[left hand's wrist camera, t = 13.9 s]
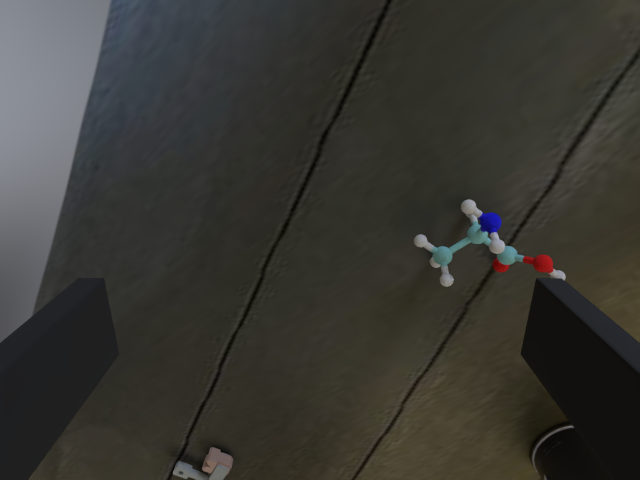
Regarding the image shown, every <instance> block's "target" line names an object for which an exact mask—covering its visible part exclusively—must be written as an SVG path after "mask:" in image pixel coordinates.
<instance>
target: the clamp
mask: <svg viewBox="0 0 640 480" xmlns="http://www.w3.org/2000/svg"><path fill="white" fill-rule="evenodd" d="M220 451H221V450H219V449H217V448H214V447H211V448H210V451H209V454H208V455H206V457H205V460H204V464H203V467H202V469H203V471H205V472H208V474H206V473H203V472H200V471H197V470H195V469H192V467H193V466H192V465H189V464H187V463H184V462H181V461H178V462H177V464H176V466H175V469H174V472H173V474H174V475H176V476H179V477H182V478H185V479H187V478H188V477H190V478H193V479H196V480H224V477H225V476H226V475H228V473H229V471H230V470H231V467H232V463H233V458H232V456H230V455H228V454H226V453H222V452H220Z"/></svg>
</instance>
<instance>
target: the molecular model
mask: <svg viewBox="0 0 640 480" xmlns="http://www.w3.org/2000/svg"><path fill="white" fill-rule="evenodd" d="M461 209H462V211H463V212H464V213H466V216H467V217H469V218H470V220H471V224H472V226H471V227H470V228H469V229H468V231H467V237H466V238H464V239H463V240H461V241H459V242H458V243H456V244H455V245H453V246H451V247H450V248H447V247H444V246H441V247H438V248H436V247H435V246H433V245H432V244H430V243H429V242H427V238H426V237H425V236H424V235H421V234H420V235H417V236H416V237H415V239H414V243H415V245H416V246H418V247H425V248H426V249H427V250H429V251H430V252H432V253H433V257H432V258H431V259H430V264H431V265H432V266H433V267H435V268H438V267H440V266H441V270H442V276H441V277H440V283H441V284H442V285H443V286H446V287H448V286H451V285H452V284H453V280H454V279H453V277H452V276H451V275H450V274H449V271H448V266H447V264H448V263H450V261H451V260H452V253H454V252H456V251H457V250H459V249H460V248H462V247H464V246H465V245H467V244H469V243H470V242H472V243H474V244H480V243H485V244H486V245H487V246H489V249H490V251H491V252H492V253H495V254H497V258H496V259H494V261H493V268H494V269H495V270H496V271H497V272H505V271H507V270H508V268H509V265H510V264H513V263H514V262H515V261H519V262H524V263H528V264H532V265H533V266H534V268H535V269H536V270H537V271H539V272H548V273H549V274H550V278H562V279H563V280H564V281H565V278H566V277H565V274H564V273H563V272H562V271H559V270H555V269H554V268H552V266H553V262H552V259H551V258H550V257H549V256H547V255H538V256H537V257H535V258H532V257H527V256H522V255H518V254H517V251H516V250H515V249H514V248H513V247H511V246H505V244H504V242H503V241H502V240H499V237H498V233H497V230H498V229H499V228H500V227H501V218H500V217H499V216H498V215H497V214H495V213H487V214H484V213H483V212H481V211H480V210H479V209H478V208H477V207H476V204H475V202H474V201H472V200H465V201H464V202H463V203H462V204H461ZM477 218H479V219H480V225H478V220H477ZM487 232H489V233H490V237H491V240H490V239H489V238H488V237H487V236H488V233H487Z"/></svg>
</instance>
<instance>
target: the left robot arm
mask: <svg viewBox="0 0 640 480" xmlns="http://www.w3.org/2000/svg"><path fill="white" fill-rule="evenodd" d="M118 355H119V350H118V345H117V341H116V336H115V331H114V326H113V321H112V316H111V311H110V306H109V302H108V297H107V292H106V287H105V282H104V278H78V279H77V280H76V281H75V282H73V283H72V284H71V285H70V286H68V287H67V288H66V289H65V290H64V291H62V292H61V293H60V294H59V295H58V296H56V297H55V298H54V299H53V300H52V301H50V302H49V303H48V304H47V305H46V306H44V307H43V308H42V309H41V310H40V311H38V312H37V313H36V314H35V315H33V316H32V317H31V318H30V319H29V320H27V321H26V322H25V323H24V324H23V325H21V326H20V327H19V328H18V329H17V330H15V331H14V332H13V333H12V334H11V335H9V336H8V337H7V338H6V339H5V340H3V341H2V342H1V343H0V480H28V479H29V478H30V476H31V475H32V474H33V472H34V471H35V469H36V468H37V467H38V465H39V464H40V463H41V461H42V460H43V458H44V457H45V456H46V454H47V453H48V452H49V450H50V449H51V447H52V446H53V445H54V443H55V442H56V441H57V439H58V438H59V436H60V435H61V434H62V432H63V431H64V430H65V428H66V427H67V425H68V424H69V423H70V421H71V420H72V419H73V417H74V416H75V414H76V413H77V412H78V410H79V409H80V408H81V406H82V405H83V403H84V402H85V401H86V399H87V398H88V397H89V395H90V394H91V392H92V391H93V390H94V388H95V387H96V386H97V384H98V383H99V381H100V380H101V379H102V377H103V376H104V375H105V373H106V372H107V370H108V369H109V368H110V366H111V365H112V364H113V362H114V361H115V359H116V358H117V357H118ZM521 355H522V357H523V358H524V359H525V361H526V362H527V364H528V365H529V366H530V368H531V369H532V370H533V372H534V373H535V375H536V376H537V377H538V379H539V380H540V381H541V383H542V384H543V386H544V387H545V388H546V390H547V391H548V392H549V394H550V395H551V397H552V398H553V399H554V401H555V402H556V403H557V405H558V406H559V408H560V409H561V410H562V412H563V413H564V414H565V416H566V417H567V419H568V420H569V421H570V423H571V424H572V425H573V427H574V428H575V430H576V431H577V432H578V434H579V435H580V436H581V438H582V439H583V441H584V442H585V443H586V445H587V446H588V447H589V449H590V450H591V452H592V453H593V454H594V456H595V457H596V458H597V460H598V461H599V463H600V464H601V465H602V467H603V468H604V469H605V471H606V472H607V474H608V475H609V476H610V478H611V479H612V480H640V343H639V342H638V341H637V340H635V339H634V338H633V337H632V336H631V335H629V334H628V333H627V332H626V331H625V330H623V329H622V328H621V327H620V326H619V325H617V324H616V323H615V322H614V321H613V320H611V319H610V318H609V317H608V316H607V315H605V314H604V313H603V312H602V311H600V310H599V309H598V308H597V307H596V306H594V305H593V304H592V303H591V302H590V301H588V300H587V299H586V298H585V297H584V296H582V295H581V294H580V293H579V292H578V291H576V290H575V289H574V288H573V287H572V286H570V285H569V284H568V283H567V282H565V281H564V280H563V279H562V278H536V282H535V287H534V292H533V297H532V302H531V306H530V311H529V316H528V321H527V326H526V331H525V336H524V341H523V345H522V350H521Z"/></svg>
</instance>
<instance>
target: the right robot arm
mask: <svg viewBox="0 0 640 480" xmlns="http://www.w3.org/2000/svg"><path fill="white" fill-rule="evenodd" d="M531 462H532V464H533V466H534V468H535V470H536V471H537V473H538V474H539V475H540V477H541V479H542V480H612V479H611V478H610V476H609V475H608V474H607V472H606V471H605V469H604V468H603V467H602V465H601V464H600V463H599V461H598V460H597V458H596V457H595V456H594V454H593V453H592V452H591V450H590V449H589V447H588V446H587V445H586V443H585V442H584V441H583V439H582V438H581V436H580V435H579V434H578V432H577V431H576V430H575V428H574V427H573V425H572V424H571V423H566V424H562V425H559V426H556V427H554V428H552V429H550V430H548V431H546V432H545V433H544V434H542V435H541V436H540V437H539V438H538V439H537V441H536V442H535V443H534V445H533V447H532V450H531Z"/></svg>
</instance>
